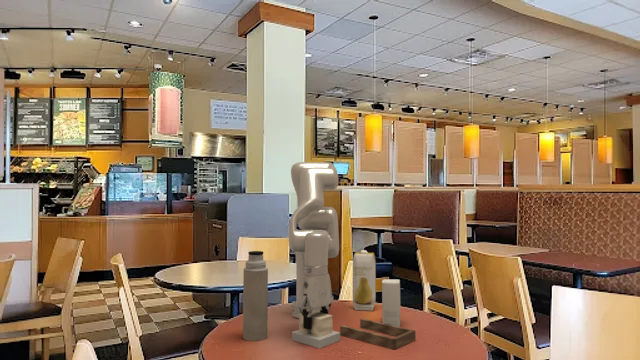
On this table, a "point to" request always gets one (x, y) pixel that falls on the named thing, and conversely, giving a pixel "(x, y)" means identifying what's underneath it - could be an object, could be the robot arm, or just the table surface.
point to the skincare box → (391, 301)
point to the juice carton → (364, 281)
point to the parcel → (317, 324)
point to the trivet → (316, 338)
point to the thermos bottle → (255, 297)
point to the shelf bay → (400, 340)
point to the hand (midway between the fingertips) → (316, 325)
